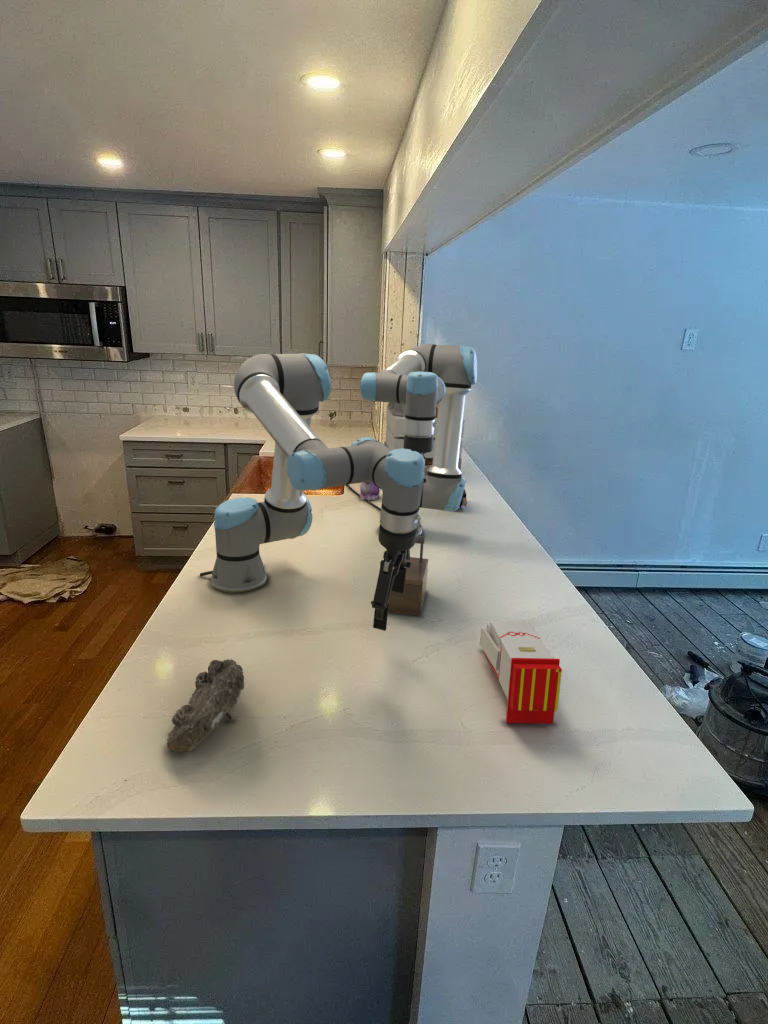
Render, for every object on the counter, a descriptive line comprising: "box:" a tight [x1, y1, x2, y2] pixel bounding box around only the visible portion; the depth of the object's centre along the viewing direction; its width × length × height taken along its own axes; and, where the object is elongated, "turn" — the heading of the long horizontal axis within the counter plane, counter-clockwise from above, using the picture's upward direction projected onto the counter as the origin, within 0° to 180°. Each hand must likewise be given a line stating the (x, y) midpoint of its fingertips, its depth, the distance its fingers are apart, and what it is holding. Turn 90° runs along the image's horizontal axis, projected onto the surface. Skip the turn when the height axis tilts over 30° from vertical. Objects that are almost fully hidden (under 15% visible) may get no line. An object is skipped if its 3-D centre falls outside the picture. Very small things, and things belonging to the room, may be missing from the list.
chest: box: [388, 565, 429, 617], centre depth 153 cm, size 14×9×9 cm
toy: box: [478, 620, 563, 725], centre depth 121 cm, size 12×13×30 cm
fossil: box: [166, 658, 245, 754], centre depth 106 cm, size 22×10×15 cm
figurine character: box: [459, 488, 468, 511], centre depth 230 cm, size 7×8×15 cm
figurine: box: [359, 482, 381, 501], centre depth 233 cm, size 9×10×15 cm
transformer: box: [383, 402, 465, 472], centre depth 268 cm, size 34×33×41 cm
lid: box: [393, 535, 429, 586], centre depth 150 cm, size 14×9×9 cm, turn 170°
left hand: (389, 609), depth 124 cm, fingers open, 13 cm apart
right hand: (413, 514), depth 150 cm, fingers open, 13 cm apart
